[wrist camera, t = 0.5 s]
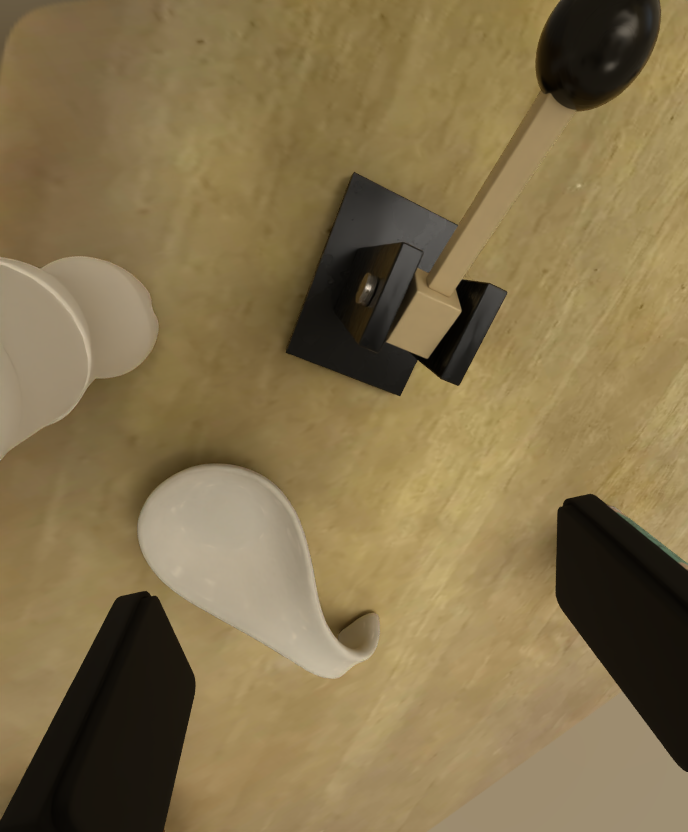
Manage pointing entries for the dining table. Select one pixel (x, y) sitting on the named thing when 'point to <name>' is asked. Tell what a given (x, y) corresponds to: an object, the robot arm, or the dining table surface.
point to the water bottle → (65, 337)
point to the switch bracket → (384, 292)
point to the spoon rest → (247, 564)
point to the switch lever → (533, 143)
